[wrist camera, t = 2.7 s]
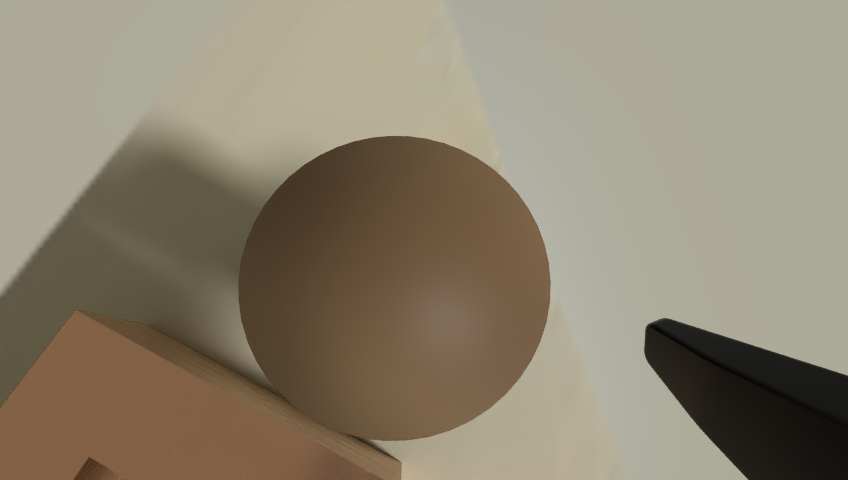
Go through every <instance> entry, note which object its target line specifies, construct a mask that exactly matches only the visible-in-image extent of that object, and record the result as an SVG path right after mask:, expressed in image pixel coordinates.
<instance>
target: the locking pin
mask: <svg viewBox="0 0 848 480" xmlns="http://www.w3.org/2000/svg"><path fill="white" fill-rule="evenodd" d="M549 304H550V272H549V263H548V258H547V254H546V249H545V245H544V242H543V239H542V236H541V234H540V231H539V228H538V226H537V224H536V222H535V220H534V218H533V216H532V214H531V213H530V211H529V209H528V207H527V206H526V205H525V203H524V202H523V200H522V199H521V198H520V196H519V194H518V193H517V192H516V191H515V190H514V189H513V188H512V187H511V186H510V184H509V183H508V182H507V181H506V180H505V179H504V178H503V177H501V176H500V175H499V174H498V173H497V172H496V171H495V170H493V169H492V168H491V167H489V166H488V165H486V164H485V163H484V162H482V161H481V160H479V159H478V158H476V157H474V156H472V155H470V154H468V153H466V152H464V151H462V150H460V149H458V148H455V147H452V146H450V145H447V144H445V143H441V142H437V141H433V140H429V139H424V138H417V137H409V136H386V137H375V138H369V139H364V140H359V141H354V142H351V143H348V144H345V145H342V146H339V147H337V148H334V149H332V150H330V151H328V152H326V153H324V154H322V155H320V156H318V157H316V158H315V159H313V160H312V161H310V162H308V163H307V164H305V165H304V166H302V167H301V168H300V169H299V170H297V171H296V172H295V173H294V174H292V175H291V176H290V177H289V178H288V179H287V180H286V181H285V182H284V183H283V184H282V185H281V186H280V187H279V188H278V189H277V190H276V191H275V192H274V194H273V195H272V196H271V198H270V199H269V200H268V202H267V203H266V204H265V205H264V207H263V209H262V211H261V212H260V214H259V216H258V217H257V219H256V221H255V223H254V225H253V227H252V230H251V232H250V234H249V237H248V239H247V242H246V246H245V249H244V253H243V256H242V260H241V267H240V275H239V305H240V313H241V320H242V324H243V327H244V331H245V334H246V338H247V341H248V343H249V346H250V348H251V350H252V352H253V355H254V357H255V359H256V361H257V363H258V364H259V366H260V367H261V369H262V371H263V372H264V374H265V375H266V377H267V378H268V380H269V381H270V382H271V383H272V384H273V385H274V387H275V388H276V389H277V390H278V391H279V392H280V394H281V395H282V396H283V397H284V398H286V399H287V400H288V401H289V402H290V403H291V404H293V405H294V406H295V407H296V408H297V409H298V410H300V411H301V412H303V413H304V414H306V415H307V416H309V417H311V418H312V419H314V420H315V421H317V422H319V423H321V424H323V425H325V426H328V427H330V428H332V429H334V430H336V431H339V432H342V433H346V434H349V435H353V436H356V437H360V438H367V439H374V440H382V441H398V440H412V439H418V438H425V437H430V436H433V435H436V434H440V433H443V432H446V431H450V430H452V429H454V428H456V427H458V426H460V425H463V424H465V423H467V422H469V421H471V420H473V419H474V418H476V417H477V416H479V415H480V414H482V413H483V412H485V411H486V410H488V409H489V408H491V407H492V406H493V405H494V404H495V403H496V402H497V401H499V400H500V399H501V398H502V397H503V396H504V395H505V394H506V393H507V392H508V391H509V390H510V389H511V388H512V386H513V385H514V384H515V383H516V382H517V381H518V379H519V378H520V377H521V375H522V374H523V372H524V371H525V369H526V368H527V366H528V365H529V363H530V362H531V360H532V358H533V356H534V354H535V352H536V349H537V347H538V345H539V343H540V341H541V338H542V334H543V331H544V328H545V325H546V321H547V316H548V310H549Z"/></svg>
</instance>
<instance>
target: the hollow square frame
mask: <svg viewBox="0 0 848 480" xmlns="http://www.w3.org/2000/svg"><path fill="white" fill-rule="evenodd" d="M401 466H402V463H401V462H399V461H397V460H395V459H393V458H391V457H390V456H388V455H386V454H384V453H382V452H380V451H379V450H377V449H375V448H373V447H371V446H369V445H367V444H366V443H364V442H362V441H360V440H358V439H356V438H355V437H353V436H351V435H349V434H346V433H342V432H339V431H336V430H334V429H332V428H330V427H328V426H325V425H323V424H321V423H319V422H317V421H315V420H314V419H312V418H311V417H309V416H307V415H306V414H304V413H303V412H301V411H300V410H298V409H297V408H296V407H295V406H294V405H293V404H291V403H290V402H288V401H286V400H285V399H283V398H281V397H279V396H277V395H275V394H274V393H272V392H270V391H268V390H266V389H264V388H263V387H261V386H259V385H257V384H255V383H253V382H251V381H250V380H248V379H246V378H244V377H242V376H240V375H239V374H237V373H235V372H233V371H231V370H229V369H228V368H226V367H224V366H222V365H220V364H218V363H216V362H215V361H213V360H211V359H209V358H207V357H205V356H204V355H202V354H200V353H198V352H196V351H194V350H193V349H191V348H189V347H187V346H185V345H183V344H181V343H180V342H178V341H176V340H174V339H172V338H170V337H169V336H167V335H165V334H163V333H161V332H159V331H158V330H156V329H154V328H152V327H150V326H148V325H146V324H141V323H136V322H131V321H126V320H121V319H117V318H112V317H107V316H102V315H97V314H92V313H87V312H83V311H78V310H75V312H74V313H73V314H72V315H71V317H70V318H69V319H68V321H67V322H66V323H65V325H64V326H63V327H62V328H61V330H60V331H59V332H58V334H57V335H56V336H55V337H54V339H53V340H52V341H51V343H50V344H49V345H48V347H47V348H46V349H45V350H44V352H43V353H42V354H41V356H40V357H39V358H38V360H37V361H36V362H35V363H34V365H33V366H32V367H31V369H30V370H29V371H28V373H27V374H26V375H25V376H24V378H23V379H22V380H21V382H20V383H19V384H18V386H17V387H16V388H15V389H14V391H13V392H12V393H11V395H10V396H9V397H8V399H7V400H6V401H5V402H4V404H3V405H2V406H1V408H0V480H401Z"/></svg>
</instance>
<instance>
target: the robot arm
mask: <svg viewBox="0 0 848 480" xmlns="http://www.w3.org/2000/svg"><path fill="white" fill-rule="evenodd" d="M644 352H645V357H646V359H647V361H648V363H649V364H650V366H651V367H652V368H653V369H654V371H655V372H656V373H657V375H659V377H660V378H661V380H662V381H663V382H664V383H665V385H666V386H667V387H668V389H669V390H670V391H671V392H672V394H673V395H674V396H675V398H676V399H677V400H678V401H679V403H680V404H681V405H682V407H683V408H684V409H685V410H686V412H687V413H688V414H689V415H690V417H691V418H692V419H693V420H694V422H695V423H696V424H697V425H698V426H699V427H700V429H701V430H702V431H703V432H704V433H705V434H706V435H707V436H708V437H709V438H710V439H711V441H712V442H713V443H714V444H715V445H716V446H717V447H718V448H719V449H720V450H721V451H722V452H723V453H724V454H725V455H726V457H727V458H728V459H729V460H730V461H731V462H732V463H733V464H734V465H735V466H736V467H737V468H738V469H739V470H740V471H741V472H742V473H743V475H744V476H745V477H746V478H747V479H748V480H848V376H847V375H844V374H841V373H838V372H835V371H831V370H828V369H825V368H822V367H819V366H816V365H813V364H810V363H806V362H803V361H800V360H797V359H794V358H790V357H788V356H784V355H781V354H778V353H775V352H772V351H769V350H766V349H763V348H759V347H756V346H753V345H750V344H747V343H743V342H740V341H737V340H734V339H731V338H728V337H725V336H722V335H719V334H715V333H712V332H709V331H706V330H703V329H700V328H696V327H693V326H690V325H687V324H684V323H681V322H678V321H675V320H671V319H667V318H663V319H659V320H657V321H654V322H652V323H650V324H648V325H647V326H646V330H645V347H644Z"/></svg>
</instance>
